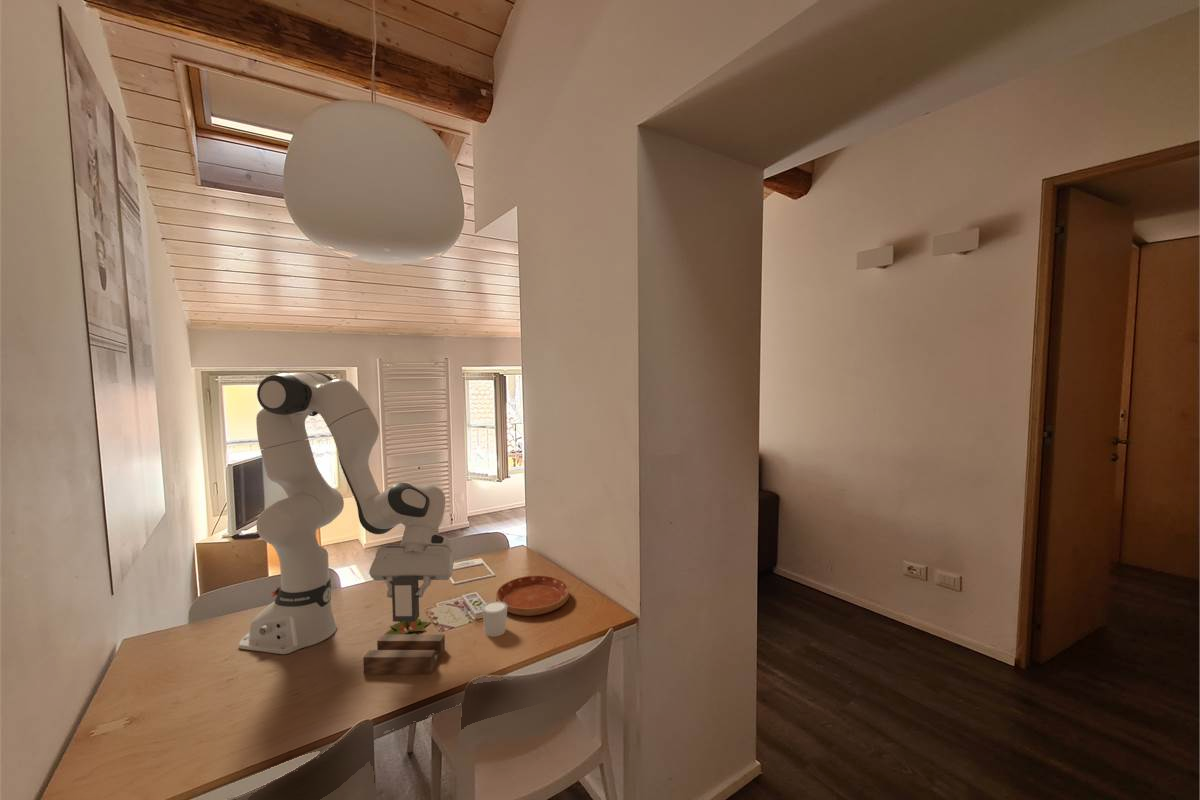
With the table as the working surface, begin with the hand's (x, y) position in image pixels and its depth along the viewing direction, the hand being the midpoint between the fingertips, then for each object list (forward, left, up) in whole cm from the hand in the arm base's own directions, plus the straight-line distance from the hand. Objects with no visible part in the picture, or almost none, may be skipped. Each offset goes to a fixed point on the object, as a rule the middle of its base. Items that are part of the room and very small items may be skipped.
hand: (404, 596), depth 116 cm
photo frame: (0, +56, -17) cm, 58 cm away
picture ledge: (0, +1, -17) cm, 17 cm away
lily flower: (-6, +16, -17) cm, 24 cm away
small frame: (0, +1, -6) cm, 6 cm away
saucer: (+27, +33, -17) cm, 46 cm away
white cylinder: (+19, +15, -17) cm, 29 cm away
